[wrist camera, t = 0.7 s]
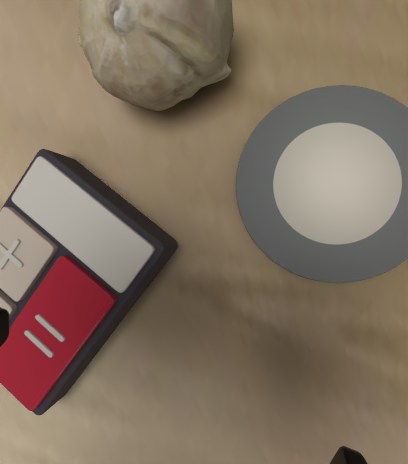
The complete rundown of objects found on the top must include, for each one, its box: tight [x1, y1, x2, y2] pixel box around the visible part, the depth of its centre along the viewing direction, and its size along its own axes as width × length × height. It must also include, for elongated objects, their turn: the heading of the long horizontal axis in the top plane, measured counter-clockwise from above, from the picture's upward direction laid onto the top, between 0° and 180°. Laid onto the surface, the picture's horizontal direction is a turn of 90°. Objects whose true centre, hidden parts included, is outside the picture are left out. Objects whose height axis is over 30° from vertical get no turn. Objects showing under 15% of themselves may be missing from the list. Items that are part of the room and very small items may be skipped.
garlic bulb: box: [78, 0, 234, 111], centre depth 19 cm, size 9×8×10 cm
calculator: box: [0, 149, 178, 415], centre depth 23 cm, size 11×4×15 cm
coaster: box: [236, 85, 408, 283], centre depth 21 cm, size 13×13×1 cm
